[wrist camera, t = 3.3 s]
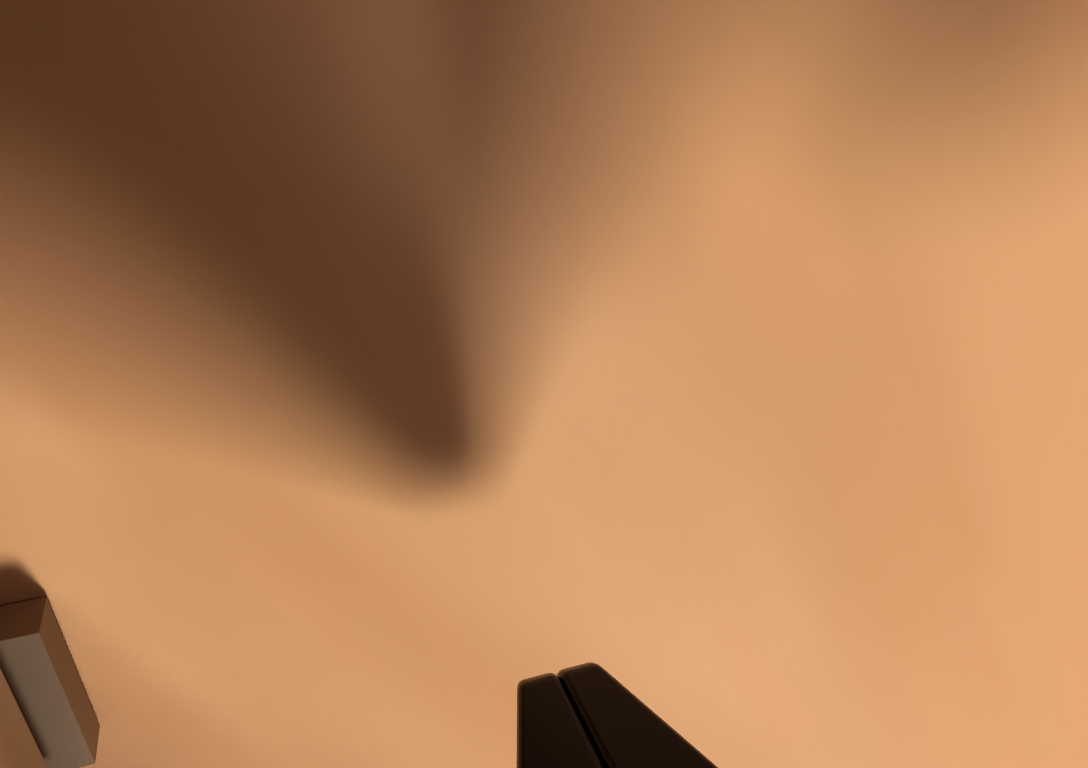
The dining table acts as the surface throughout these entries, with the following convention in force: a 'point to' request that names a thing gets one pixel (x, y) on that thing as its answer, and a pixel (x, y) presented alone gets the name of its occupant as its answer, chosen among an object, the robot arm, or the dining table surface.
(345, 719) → the dining table surface
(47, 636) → the rail
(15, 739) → the menu board
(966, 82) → the dining table surface
